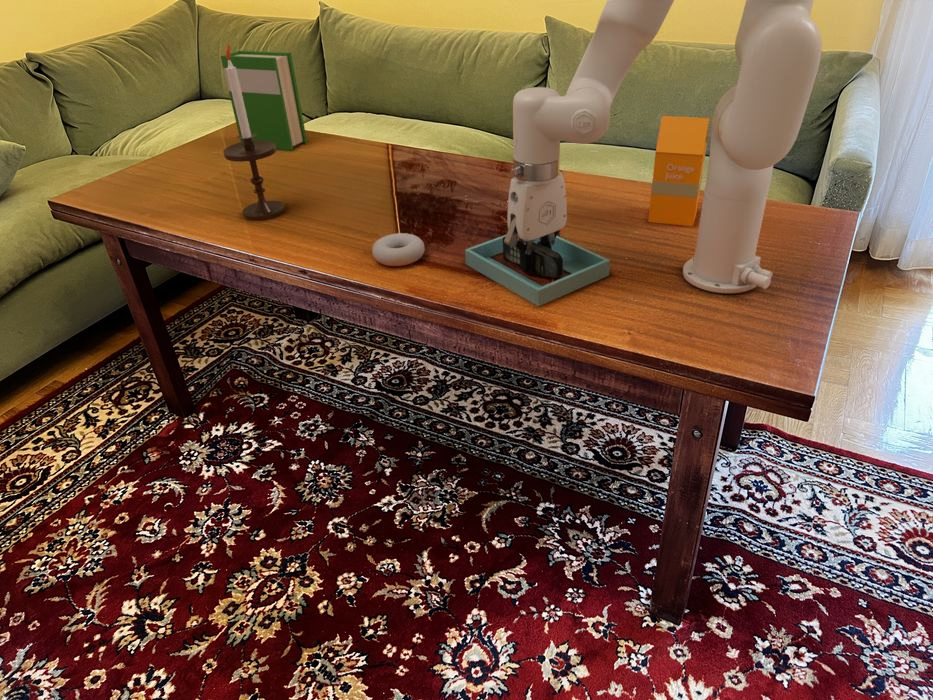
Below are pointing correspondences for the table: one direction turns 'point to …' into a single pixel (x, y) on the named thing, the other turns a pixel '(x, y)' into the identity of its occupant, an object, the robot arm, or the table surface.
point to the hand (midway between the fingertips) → (535, 267)
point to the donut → (398, 249)
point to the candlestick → (250, 153)
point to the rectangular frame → (575, 262)
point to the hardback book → (268, 96)
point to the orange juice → (678, 170)
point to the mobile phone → (538, 259)
